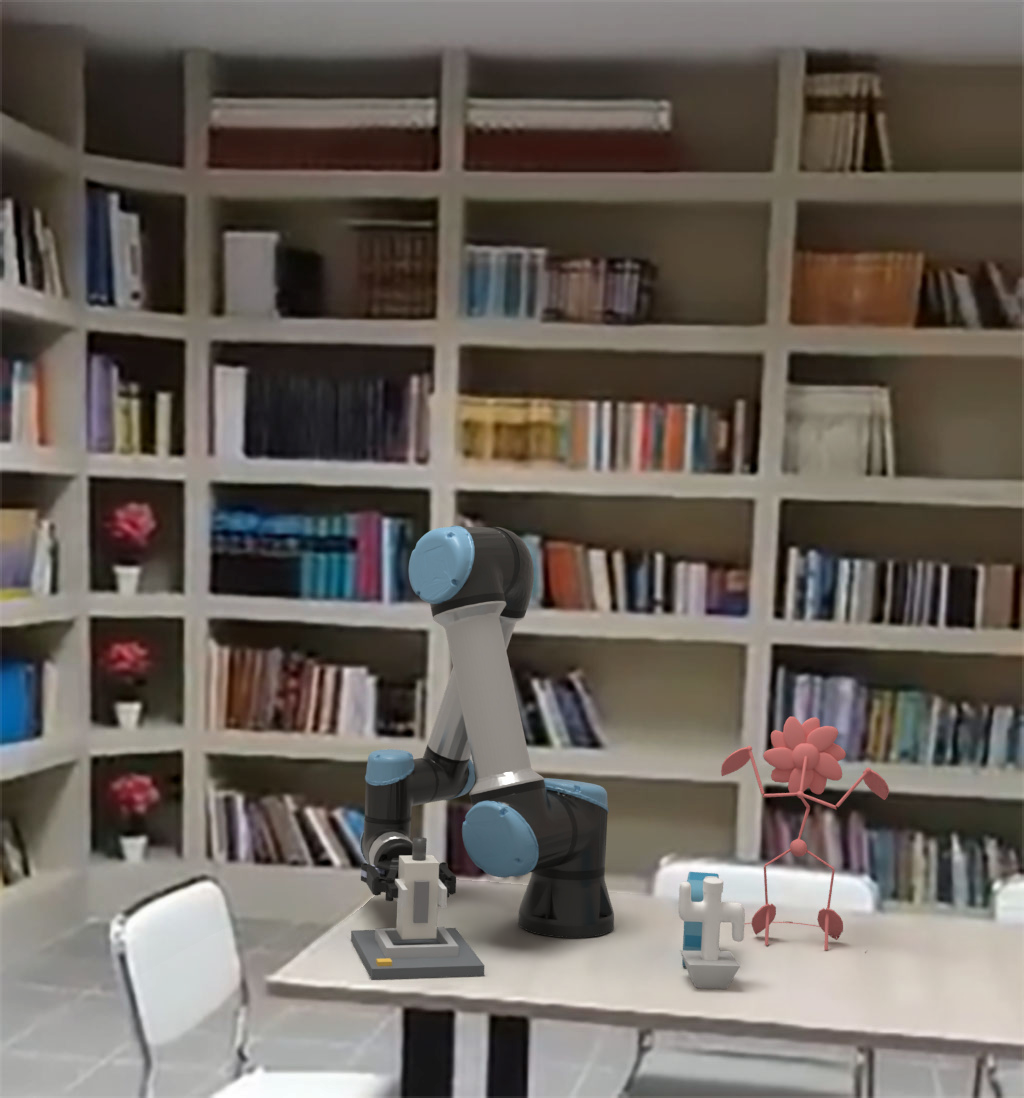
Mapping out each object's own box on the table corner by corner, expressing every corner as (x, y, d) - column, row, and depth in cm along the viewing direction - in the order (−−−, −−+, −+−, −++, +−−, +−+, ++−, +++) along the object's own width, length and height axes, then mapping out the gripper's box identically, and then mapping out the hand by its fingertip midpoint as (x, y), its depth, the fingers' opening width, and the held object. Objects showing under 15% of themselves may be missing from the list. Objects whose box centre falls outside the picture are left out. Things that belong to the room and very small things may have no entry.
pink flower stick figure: (883, 957, 251) (893, 728, 250) (712, 943, 255) (722, 717, 254) (877, 931, 266) (887, 715, 265) (716, 918, 271) (725, 705, 269)
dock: (455, 937, 253) (455, 918, 253) (484, 975, 233) (484, 954, 233) (351, 940, 249) (351, 920, 249) (371, 979, 230) (372, 958, 229)
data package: (713, 971, 240) (716, 889, 240) (681, 969, 241) (685, 887, 240) (715, 949, 252) (718, 871, 252) (685, 947, 253) (689, 869, 252)
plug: (429, 929, 244) (433, 834, 244) (437, 939, 239) (441, 843, 238) (396, 929, 243) (399, 835, 242) (403, 940, 237) (406, 843, 237)
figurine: (746, 991, 231) (751, 885, 230) (680, 990, 230) (684, 883, 230) (735, 976, 238) (740, 873, 238) (671, 975, 237) (675, 871, 237)
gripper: (452, 884, 261) (485, 923, 238) (338, 886, 256) (360, 926, 234) (454, 837, 260) (487, 871, 238) (340, 838, 256) (362, 873, 233)
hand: (424, 898), depth 236 cm, fingers closed on plug, 5 cm apart
